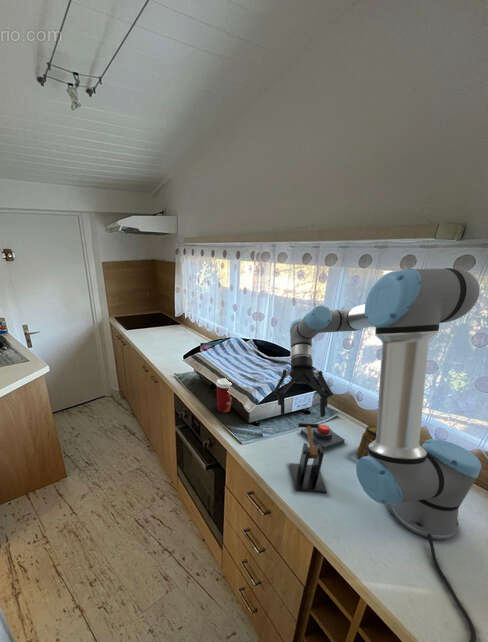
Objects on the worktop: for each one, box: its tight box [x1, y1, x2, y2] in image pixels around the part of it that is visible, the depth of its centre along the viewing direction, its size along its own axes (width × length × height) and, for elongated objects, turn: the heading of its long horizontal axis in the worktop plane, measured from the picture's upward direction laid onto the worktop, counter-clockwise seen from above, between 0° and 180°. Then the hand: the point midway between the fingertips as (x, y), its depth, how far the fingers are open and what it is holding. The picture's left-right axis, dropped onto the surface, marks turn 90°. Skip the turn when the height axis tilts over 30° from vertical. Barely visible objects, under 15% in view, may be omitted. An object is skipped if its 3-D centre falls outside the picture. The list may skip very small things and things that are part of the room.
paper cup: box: [215, 377, 233, 414], centre depth 134 cm, size 8×8×14 cm
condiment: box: [355, 425, 377, 460], centre depth 104 cm, size 7×8×12 cm
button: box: [318, 423, 330, 434], centre depth 115 cm, size 4×4×2 cm
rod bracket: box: [289, 442, 327, 494], centre depth 95 cm, size 12×9×13 cm
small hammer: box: [297, 422, 319, 460], centre depth 96 cm, size 12×6×2 cm, turn 172°
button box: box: [300, 423, 346, 451], centre depth 116 cm, size 12×10×4 cm
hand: (302, 415), depth 107 cm, fingers open, 13 cm apart
